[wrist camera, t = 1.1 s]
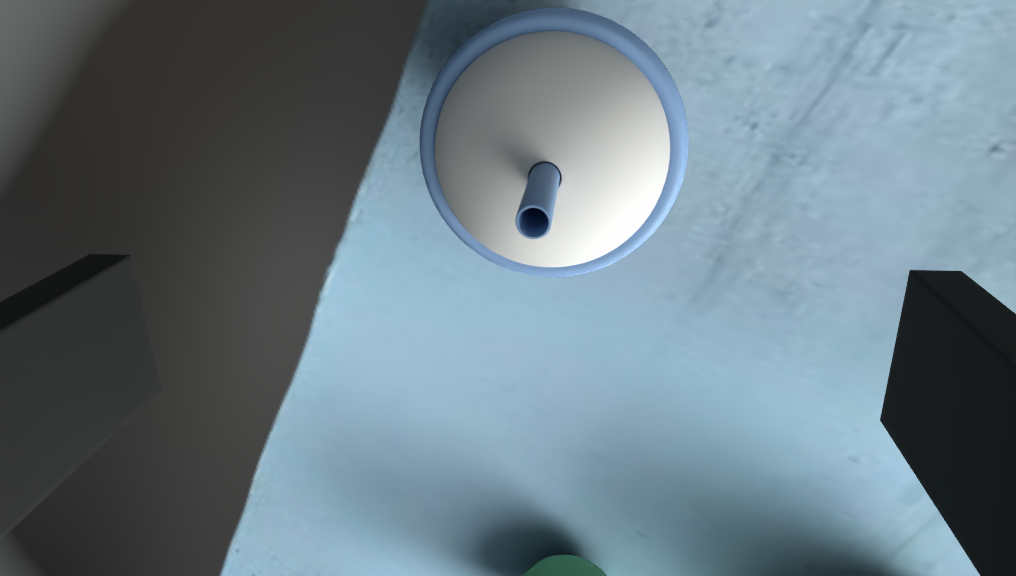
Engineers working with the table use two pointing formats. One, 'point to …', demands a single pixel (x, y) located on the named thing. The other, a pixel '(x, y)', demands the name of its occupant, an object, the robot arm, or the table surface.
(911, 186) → the table surface
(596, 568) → the alien toy
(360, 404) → the table surface
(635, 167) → the cup with straw
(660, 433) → the table surface
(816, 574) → the table surface
